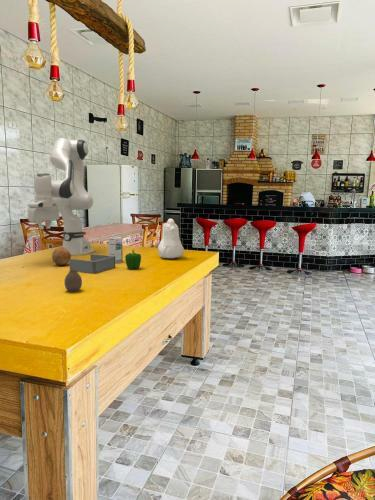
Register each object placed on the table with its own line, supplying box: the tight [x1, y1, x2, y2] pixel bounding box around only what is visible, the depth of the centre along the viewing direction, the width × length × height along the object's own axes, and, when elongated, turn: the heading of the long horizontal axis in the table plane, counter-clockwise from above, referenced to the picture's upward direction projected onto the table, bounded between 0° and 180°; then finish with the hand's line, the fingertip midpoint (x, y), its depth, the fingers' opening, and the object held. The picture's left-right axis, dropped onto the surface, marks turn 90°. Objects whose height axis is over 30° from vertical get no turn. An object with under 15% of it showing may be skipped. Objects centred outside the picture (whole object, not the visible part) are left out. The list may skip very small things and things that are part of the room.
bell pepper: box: [124, 249, 142, 270], centre depth 205 cm, size 8×8×10 cm
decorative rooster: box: [157, 218, 185, 259], centre depth 241 cm, size 25×16×25 cm, turn 5°
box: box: [69, 253, 116, 275], centre depth 202 cm, size 18×15×6 cm
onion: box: [51, 246, 72, 266], centre depth 210 cm, size 10×10×10 cm
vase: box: [64, 269, 83, 293], centre depth 158 cm, size 7×7×9 cm
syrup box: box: [107, 236, 124, 264], centre depth 222 cm, size 6×6×14 cm
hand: (45, 229), depth 212 cm, fingers open, 4 cm apart
